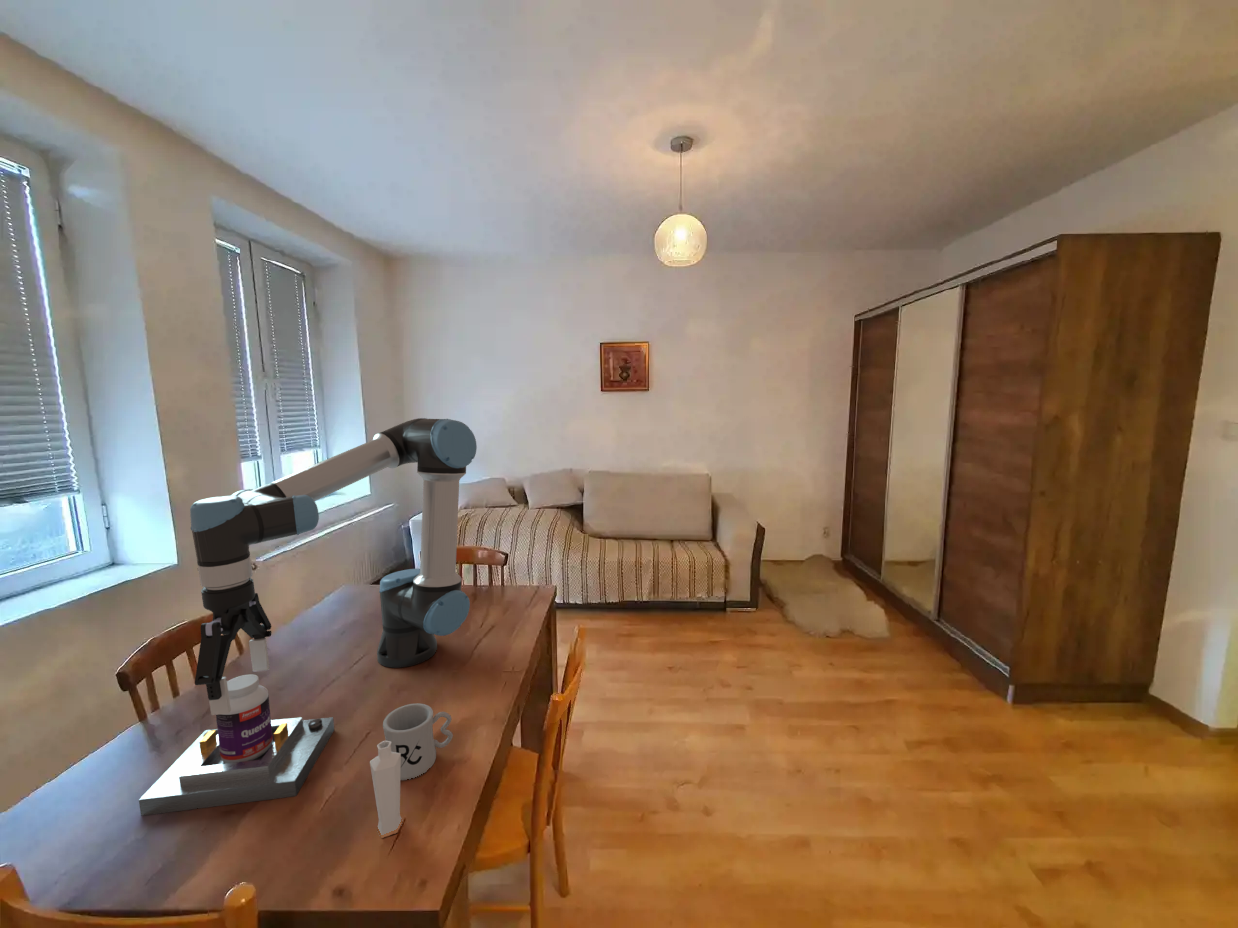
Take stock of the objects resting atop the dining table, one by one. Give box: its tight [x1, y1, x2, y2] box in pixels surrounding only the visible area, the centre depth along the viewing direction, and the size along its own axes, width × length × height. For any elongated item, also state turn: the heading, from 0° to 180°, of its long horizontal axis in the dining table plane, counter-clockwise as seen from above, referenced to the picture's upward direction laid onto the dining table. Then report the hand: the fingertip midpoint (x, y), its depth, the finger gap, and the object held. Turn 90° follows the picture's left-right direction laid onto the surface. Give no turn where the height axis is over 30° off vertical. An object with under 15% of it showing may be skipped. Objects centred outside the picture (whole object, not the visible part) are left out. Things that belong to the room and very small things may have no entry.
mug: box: [382, 703, 454, 781], centre depth 97 cm, size 12×9×10 cm
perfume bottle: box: [369, 739, 403, 835], centre depth 82 cm, size 5×4×15 cm
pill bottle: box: [215, 673, 273, 764], centre depth 95 cm, size 8×8×14 cm
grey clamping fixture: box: [138, 716, 335, 816], centre depth 96 cm, size 24×18×8 cm
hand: (242, 690), depth 95 cm, fingers open, 13 cm apart
